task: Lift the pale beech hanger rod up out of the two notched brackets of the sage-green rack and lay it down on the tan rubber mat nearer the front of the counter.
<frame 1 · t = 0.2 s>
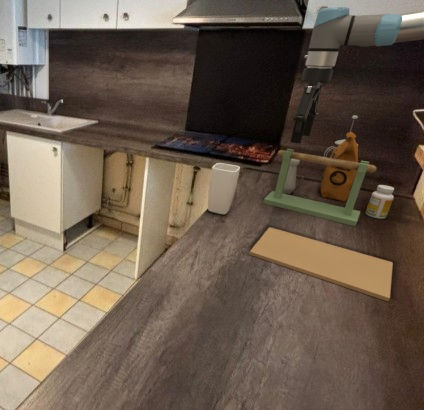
hand: (300, 139, 113), 22 cm above the table, tool pointing down, fingers open, 13 cm apart
salt shaker: (284, 192, 132), on the table
rack: (309, 209, 117), on the table
mat: (318, 260, 89), on the table
hanger rod: (323, 160, 111), point 17 cm above the table, touching rack
supplement bottle: (375, 216, 114), on the table
french press: (333, 176, 150), on the table
coffee package: (332, 195, 130), on the table
cup: (217, 211, 115), on the table
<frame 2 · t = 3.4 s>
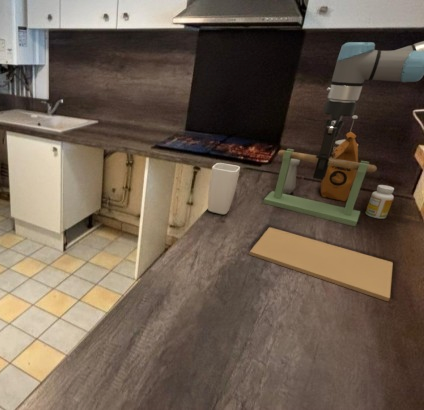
hand: (318, 177, 113), 11 cm above the table, tool pointing down, fingers closed on hanger rod, 2 cm apart
hanger rod: (323, 160, 111), point 17 cm above the table, touching gripper
everything else where it was.
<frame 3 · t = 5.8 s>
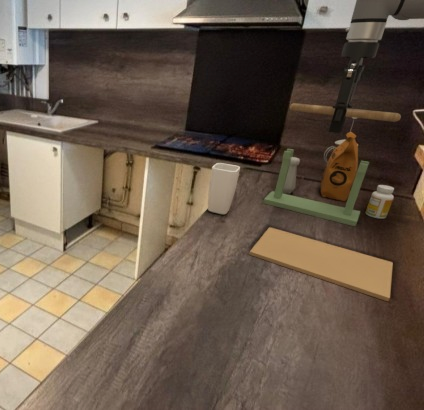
hand: (335, 131, 103), 27 cm above the table, tool pointing down, fingers closed on hanger rod, 2 cm apart
hanger rod: (340, 111, 100), point 32 cm above the table, touching gripper
everything else where it was.
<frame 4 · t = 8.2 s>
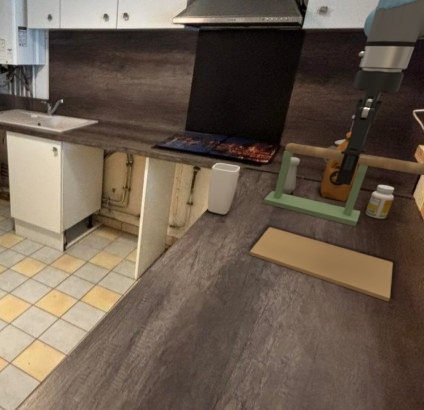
hand: (343, 181, 80), 21 cm above the table, tool pointing down, fingers closed on hanger rod, 2 cm apart
hanger rod: (351, 157, 78), point 26 cm above the table, touching gripper
everything else where it was.
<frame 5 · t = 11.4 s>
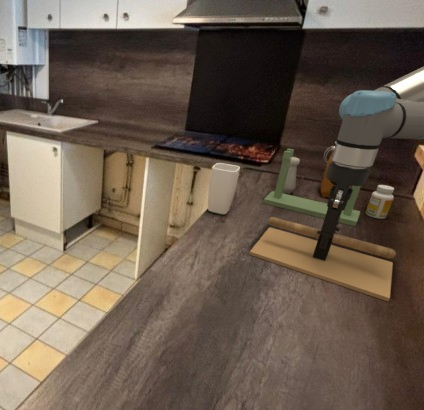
hand: (320, 255, 88), 1 cm above the table, tool pointing down, fingers closed on hanger rod, 2 cm apart
hanger rod: (326, 235, 86), point 7 cm above the table, touching gripper
everything else where it was.
when the fingers open (3 cm above the table, at t = 13.3 s): hanger rod drops 6 cm, resting on mat.
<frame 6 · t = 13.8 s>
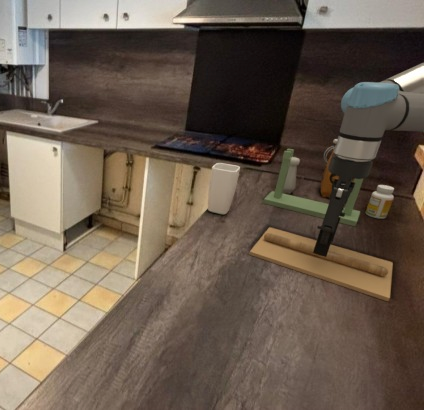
hand: (323, 246, 87), 4 cm above the table, tool pointing down, fingers open, 9 cm apart
hanger rod: (320, 252, 88), point 2 cm above the table, touching mat
everything else where it was.
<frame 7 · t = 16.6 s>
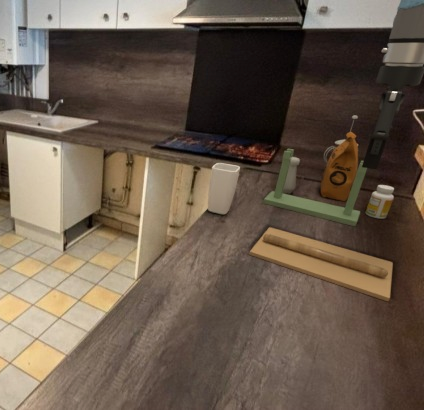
hand: (370, 161, 85), 24 cm above the table, tool pointing down, fingers open, 13 cm apart
hanger rod: (320, 254, 87), point 2 cm above the table, tilted 41°, touching mat
everything else where it was.
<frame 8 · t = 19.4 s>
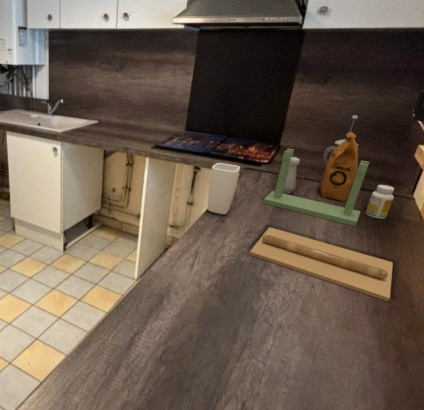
hand: (418, 117, 96), 32 cm above the table, tool pointing down, fingers open, 13 cm apart
hanger rod: (319, 255, 87), point 2 cm above the table, tilted 79°, touching mat
everything else where it was.
at the end: hanger rod inside the target area on the mat (1.5 cm from its centre), point 2.1 cm above the mat's base; hanger rod moved 39.2 cm from its start; the gripper is holding nothing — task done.
